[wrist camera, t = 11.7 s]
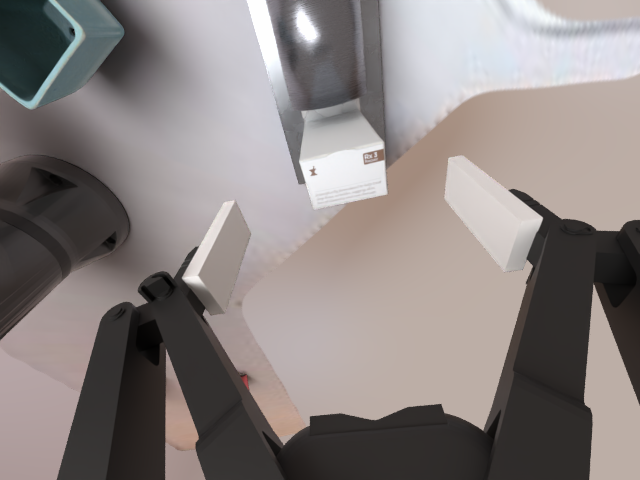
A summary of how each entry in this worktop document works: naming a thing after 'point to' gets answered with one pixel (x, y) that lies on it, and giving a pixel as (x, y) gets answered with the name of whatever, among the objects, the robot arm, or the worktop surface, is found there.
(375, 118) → the motor
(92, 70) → the flower pot
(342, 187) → the skincare box
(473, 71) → the worktop surface
